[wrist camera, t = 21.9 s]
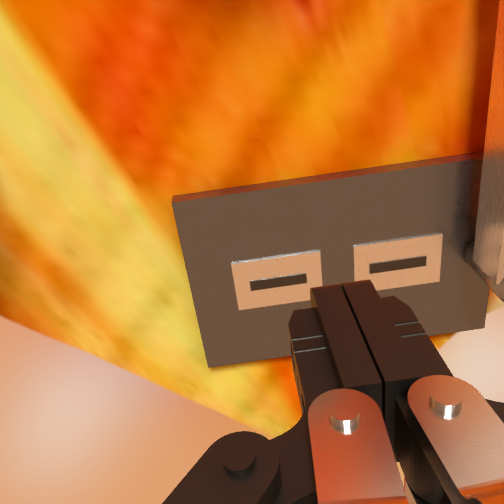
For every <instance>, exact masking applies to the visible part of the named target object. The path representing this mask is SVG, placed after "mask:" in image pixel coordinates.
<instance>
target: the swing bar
mask: <svg viewBox="0 0 504 504" xmlns="http://www.w3.org/2000/svg"><path fill="white" fill-rule="evenodd" d="M465 260H466V263H467V264H468V265H469V266H470V267H471V268H472V270H473V271H474V272H475V273H476V274H477V275H478V276H479V277H480V278H481V279H482V280H483V281H484V282H485V283H486V284H487V286H488V287H489V288H490V289H491V290H492V291H493V292H494V293H495V294H496V295H497V296H498V297H499V298H500V299H501V300H502V301H503V302H504V0H500V1H499V11H498V20H497V30H496V39H495V49H494V59H493V68H492V78H491V88H490V97H489V107H488V117H487V126H486V136H485V146H484V155H483V165H482V175H481V184H480V194H479V204H478V213H477V223H476V232H475V240H474V241H473V242H471V244H470V245H469V246H468V248H467V250H466V253H465Z"/></svg>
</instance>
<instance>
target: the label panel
mask: <svg viewBox="0 0 504 504" xmlns="http://www.w3.org/2000/svg"><path fill="white" fill-rule="evenodd" d="M483 155H484V151H483V152H476V153H469V154H462V155H455V156H448V157H441V158H435V159H428V160H421V161H414V162H407V163H400V164H393V165H386V166H379V167H372V168H365V169H358V170H351V171H344V172H337V173H330V174H323V175H316V176H309V177H302V178H295V179H288V180H281V181H275V182H268V183H261V184H254V185H247V186H240V187H233V188H226V189H219V190H212V191H205V192H198V193H191V194H184V195H177V196H173V199H172V207H173V211H174V216H175V220H176V225H177V229H178V234H179V238H180V243H181V247H182V252H183V256H184V261H185V265H186V270H187V274H188V279H189V283H190V288H191V292H192V297H193V301H194V306H195V310H196V315H197V319H198V324H199V328H200V332H201V337H202V341H203V346H204V350H205V355H206V359H207V364H208V368H209V367H216V366H223V365H230V364H237V363H244V362H251V361H258V360H265V359H272V358H279V357H286V356H292V354H291V346H290V337H289V328H288V323H289V321H290V318H291V316H292V313H293V311H294V310H299V309H306V308H311V300H310V288H313V287H320V286H327V285H334V284H339V285H340V284H341V283H347V282H354V281H361V280H368V279H369V280H371V282H372V283H373V285H374V287H375V289H376V291H377V293H378V294H379V296H380V298H382V297H389V296H395V297H397V298H398V299H399V300H401V301H402V302H404V303H405V304H407V305H408V306H410V308H411V309H412V311H413V313H414V314H415V316H416V317H417V319H418V322H419V323H420V324H421V325H422V327H423V329H424V330H425V333H426V335H428V336H432V335H439V334H446V333H453V332H460V331H467V330H473V329H481V328H484V326H485V317H486V310H487V303H488V295H489V287H488V286H487V284H486V283H485V282H484V281H483V280H482V279H481V278H480V277H479V276H478V275H477V274H476V273H475V272H474V271H473V270H472V268H471V267H470V266H469V265H468V264H467V263H466V260H465V253H466V250H467V248H468V246H469V245H470V244H471V242H473V241H474V240H475V232H476V223H477V213H478V204H479V194H480V184H481V175H482V165H483Z"/></svg>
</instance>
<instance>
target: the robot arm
mask: <svg viewBox="0 0 504 504" xmlns="http://www.w3.org/2000/svg"><path fill="white" fill-rule="evenodd" d="M310 300H311V308H306V309H299V310H294V311H293V313H292V316H291V318H290V321H289V323H288V328H289V337H290V346H291V354H292V363H293V371H294V376H295V381H296V386H297V391H298V395H299V399H300V405H301V410H302V417H301V419H300V420H299V421H298V423H297V424H296V425H295V426H294V427H293V428H291V429H290V430H289V431H287V432H285V433H284V434H282V435H280V436H277V437H275V438H273V439H271V440H268V439H267V438H266V437H264V436H262V435H260V434H257V433H254V432H247V431H243V432H242V431H241V432H235V433H231V434H228V435H225V436H223V437H222V438H220V439H218V440H217V441H216V442H214V443H213V444H212V445H211V446H210V447H209V448H208V450H207V451H206V452H205V453H204V454H203V456H202V457H201V458H200V459H199V460H198V462H197V463H196V464H195V465H194V466H193V468H192V469H191V470H190V471H189V472H188V473H187V475H186V476H185V477H184V478H183V479H182V481H181V482H180V483H179V484H178V485H177V487H176V488H175V489H174V490H173V491H172V493H171V494H170V495H169V496H168V497H167V499H166V500H165V501H164V502H163V503H162V504H504V403H501V402H495V401H491V400H487V399H484V397H483V396H482V395H481V394H480V393H479V392H478V390H477V389H475V388H474V387H473V386H472V385H470V384H469V383H467V382H465V381H463V380H461V379H458V378H455V377H454V376H453V375H452V373H451V372H450V370H449V368H448V367H447V365H446V364H445V362H444V361H443V359H442V357H441V356H440V354H439V352H438V351H437V349H436V348H435V346H434V344H433V343H432V341H431V340H430V338H429V337H428V335H426V333H425V330H424V329H423V327H422V325H421V324H420V323H419V322H418V319H417V317H416V316H415V314H414V313H413V311H412V309H411V308H410V306H408V305H407V304H405V303H404V302H402V301H401V300H399V299H398V298H397V297H395V296H389V297H382V298H380V296H379V294H378V293H377V291H376V289H375V287H374V285H373V283H372V282H371V280H369V279H368V280H361V281H354V282H347V283H341V284H340V285H339V284H334V285H327V286H320V287H313V288H310ZM396 462H400V465H401V468H402V470H403V473H404V475H405V479H404V487H403V484H402V480H401V477H400V474H399V471H398V467H397V464H396Z"/></svg>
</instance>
